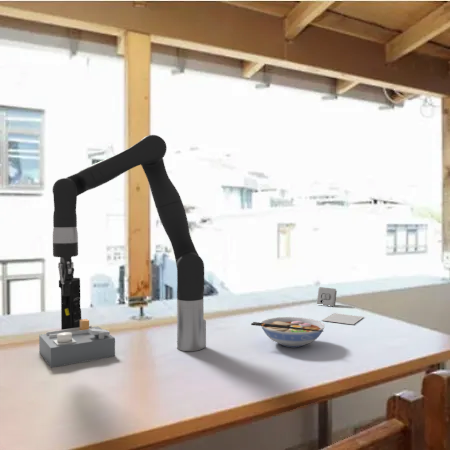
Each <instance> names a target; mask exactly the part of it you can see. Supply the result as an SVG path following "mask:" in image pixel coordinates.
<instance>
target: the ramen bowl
mask: <svg viewBox="0 0 450 450" xmlns="http://www.w3.org/2000/svg"><path fill="white" fill-rule="evenodd" d="M250 325H251V326H255V327H257V326H259V327H261V329H262V330H263V332H264V333H265V335H266V336H267V337H268V338H269V339H270V340H271V341H272V342H274V343H277V344H279V345H282V346H284V347H287V348H300V347H302V346H305V345H308V344H310V343H313V342H314V341H316V340H317V339H318V338H319V337H320V336H321V334H322V333H323V332H324V329H325V324H324V323H323V322H321V321H319V320H315V319H312V318H306V317H297V316H296V317H295V316H282V317H281V316H279V317H272V318H267V319H264V320H262V321H261V322H257V321H252V322H251V324H250Z"/></svg>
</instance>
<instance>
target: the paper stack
mask: <svg viewBox="0 0 450 450" xmlns="http://www.w3.org/2000/svg"><path fill="white" fill-rule="evenodd" d="M362 319H364V316H361V315H360V316H359V315H353V314H344V313H337V312H336V313H335V312H333V313H331V314H330V315H328V316H327V317H325V318H323V319H322V321H325V322H330V323H331V322H332V323H333V322H334V323H339V324H346V325H355V324H356V323H357V322H359V321H360V320H362Z"/></svg>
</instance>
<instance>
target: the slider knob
mask: <svg viewBox="0 0 450 450" xmlns="http://www.w3.org/2000/svg"><path fill="white" fill-rule="evenodd" d="M89 326H90V319H88V318H81V320H80V330H86V329H89Z"/></svg>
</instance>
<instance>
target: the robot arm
mask: <svg viewBox="0 0 450 450" xmlns="http://www.w3.org/2000/svg"><path fill="white" fill-rule="evenodd" d="M167 148H168V147H167V143H166V141H165V140H164V138H162V137H161V136H159V135H156V134H149V135H146V136H144V137H143V138H141V140H139V141H138V142H136V143H134V144H133V145H132V146H131V147H130V146H129V148H126V149H124V150H123V151H121V152H119V153H117V154H114V155H113V156H110V157H107V158H106V159H102V160H101V161H98V162H96V163H94V164H92V165H88V166H87V167H85V168H83V169H81V170H80V171H78V172H76V173H74V174H72V175H70V176H69V175H68V176H67V177H61V178H58V179H57V180H56V181H55V182H54V183H53V186H52V194H53V218H52V219H53V220H52V221H53V222H52V223H53V225H52V226H53V227H52V229H53V230H52V256H53V257H54V258H60V259H59V261H58V264H57V265H58V266H57V268H58V273H59V274H58V275H59V280H60V281H61V283H62V295H63V296H70V284H71V283H72V280H73V278H74V272H75V268H74V262H73V260H72V257H73V258H74V257H78V256H79V233H78V228H77V227H78V225H77V224H78V221H77V219H78V217H77V201H78V200H77V199H78V196H80V195H81V194H84V193H85V192H87V191H90V190H93V189H95V188H97V187H100V186H102V185H104V184H107V183H108V182H110V181H112V180H114V179H116V178H117V177H119V176H121V175H123V174H124V173H126V172H128V171H130V170H131V169H134V168H136V167H138V166H141V168H142V170H143V172H144V175H145V176H146V179H147V181H148V184H149V189H150V192H151V196H152V198H153V202H154V206H155V209H156V212H157V215H158V218H159V220H160V222H161V225H162V227H163V230H164V231H165V235H167V237H168V239H169V242H170V245H171V248H172V250H173V254H174V259H175V265H176V278H177V279H176V281H177V284H176V328H177V329H176V337H177V338H176V339H177V340H176V343H177V344H176V346H177V347H176V348H177V350H179V351H184V352H195V351H200V350H202V349H204V348H207V321H206V319H204V317H205V316H204V292H205V263H204V260H203V258H202V257H201V256H200V255H199V253H198V252H197V251H198V250H197V248H196V247H195V245H194V242H193V239H192V236H191V234H190V233H191V232H190V227H189V221H188V217H187V212H186V209H185V206H184V203H183V200H182V198H181V195H180V193H179V192H178V189H177V188H176V186H175V185H174V183H173V182H172V181H171V179H170V176H169V175H168V172H167V170H166V166H165V162H164V157H165V156H166V153H167Z"/></svg>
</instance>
